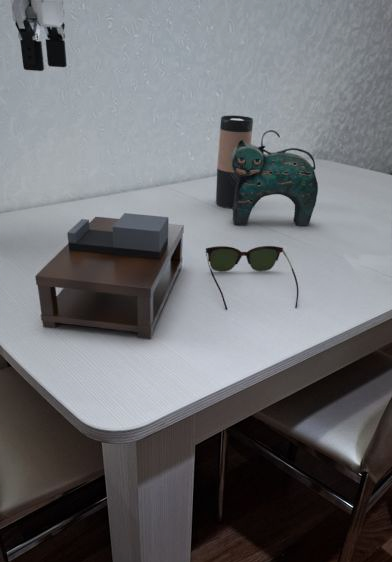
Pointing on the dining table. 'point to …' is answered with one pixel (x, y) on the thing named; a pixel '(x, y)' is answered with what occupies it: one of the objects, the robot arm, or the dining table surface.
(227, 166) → the travel mug
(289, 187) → the ceramic cat
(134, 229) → the dark grey stepped block
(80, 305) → the coffee table
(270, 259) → the sunglasses
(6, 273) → the dining table surface
